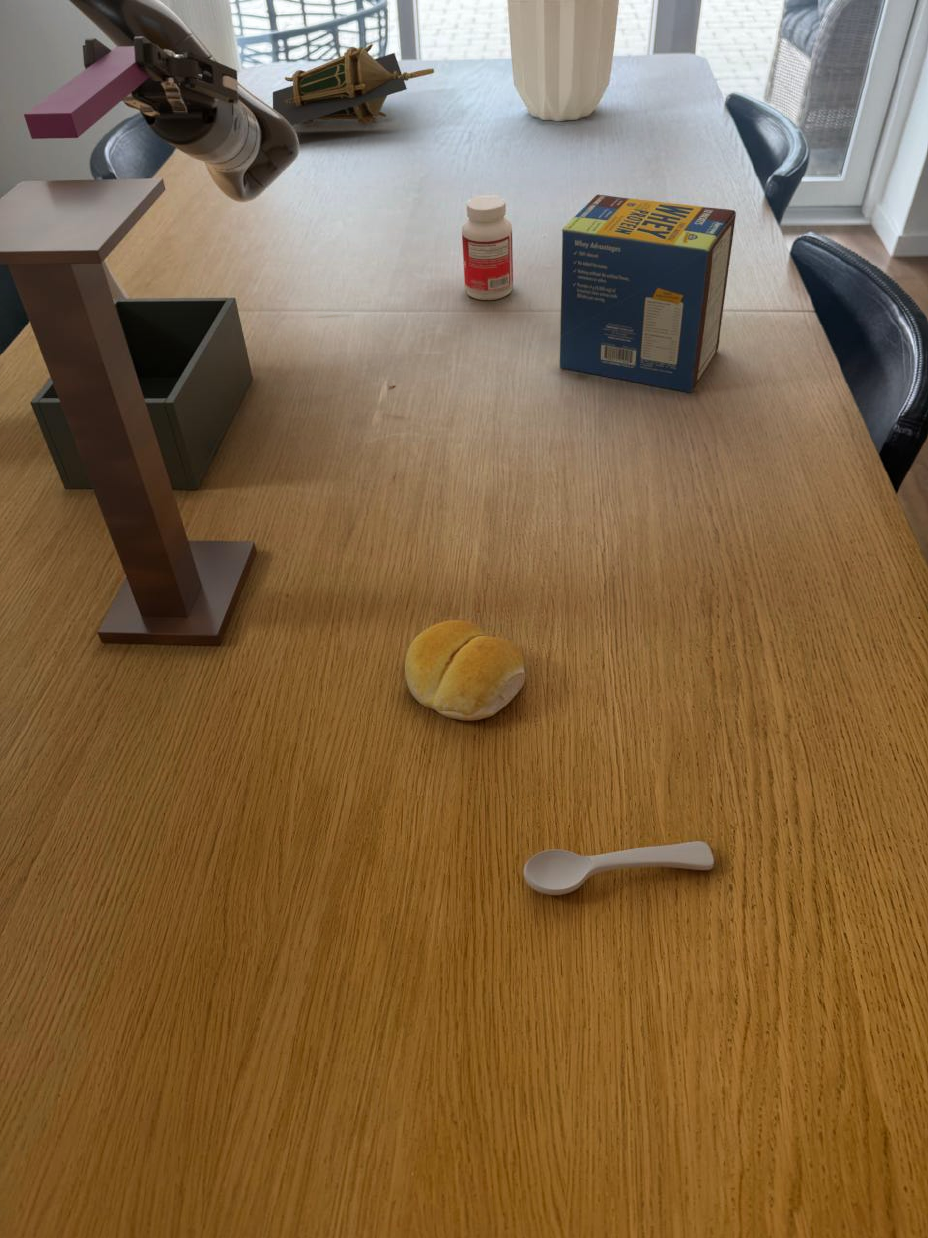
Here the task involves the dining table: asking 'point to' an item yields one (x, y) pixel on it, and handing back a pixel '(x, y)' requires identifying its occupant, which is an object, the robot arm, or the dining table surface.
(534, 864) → the spoon
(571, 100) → the vase
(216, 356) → the trash bin
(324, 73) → the lantern
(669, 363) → the protein box
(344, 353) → the dining table surface
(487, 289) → the pill bottle
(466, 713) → the bread roll
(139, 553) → the shelf stand
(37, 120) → the pink rectangular block
